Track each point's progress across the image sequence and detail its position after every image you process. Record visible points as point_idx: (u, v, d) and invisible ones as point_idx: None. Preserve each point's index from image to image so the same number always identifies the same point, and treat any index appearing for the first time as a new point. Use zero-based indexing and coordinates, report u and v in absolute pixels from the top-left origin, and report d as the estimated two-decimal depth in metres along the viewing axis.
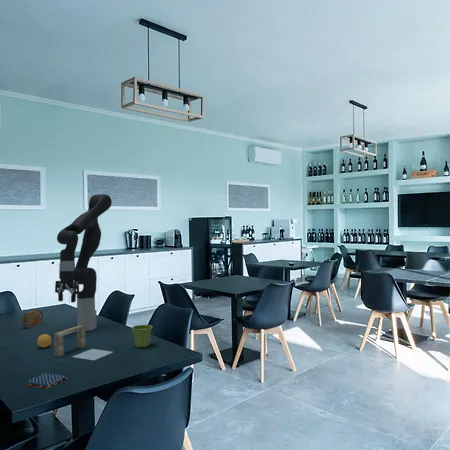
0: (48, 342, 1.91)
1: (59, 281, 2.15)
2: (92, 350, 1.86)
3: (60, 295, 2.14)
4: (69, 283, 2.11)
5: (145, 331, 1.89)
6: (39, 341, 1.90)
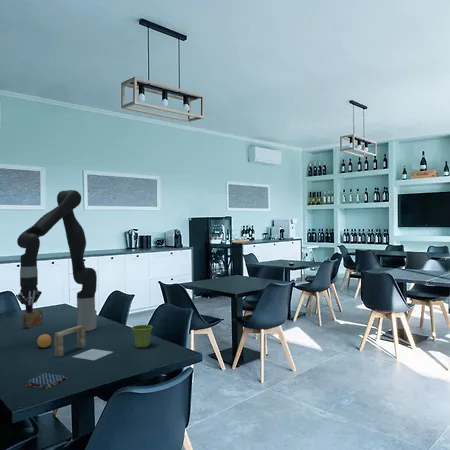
0: (48, 342, 1.91)
1: None
2: (92, 350, 1.86)
3: None
4: None
5: (145, 331, 1.89)
6: (39, 341, 1.90)
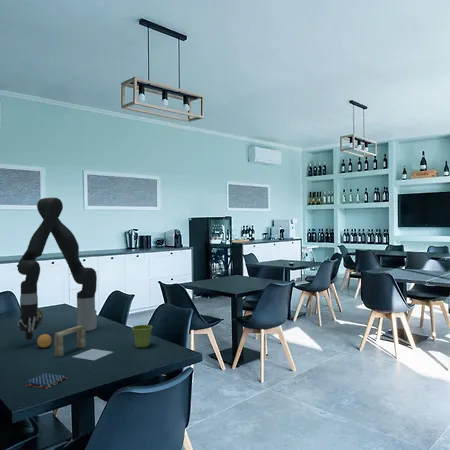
0: (48, 342, 1.91)
1: None
2: (92, 350, 1.86)
3: None
4: None
5: (145, 331, 1.89)
6: (39, 341, 1.90)
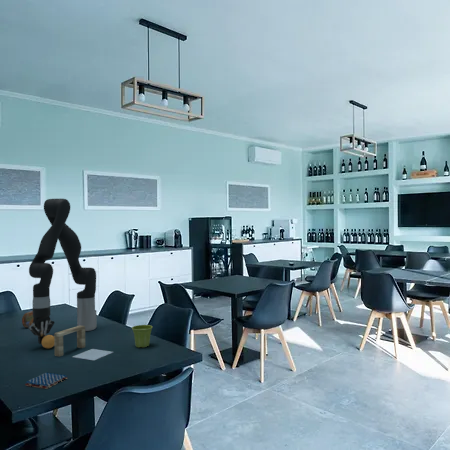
0: (51, 346, 1.90)
1: None
2: (92, 350, 1.86)
3: None
4: None
5: (145, 331, 1.89)
6: (44, 343, 1.88)
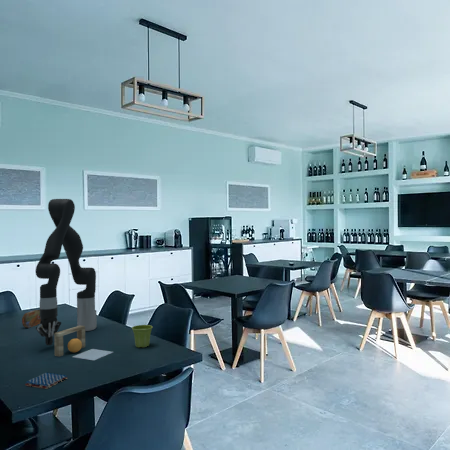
0: (78, 343, 1.83)
1: None
2: (92, 350, 1.86)
3: None
4: None
5: (145, 331, 1.89)
6: (69, 346, 1.81)
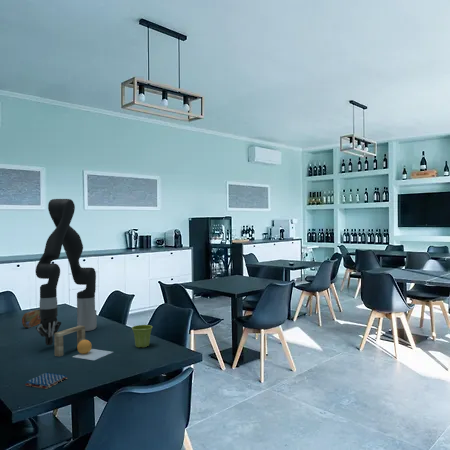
0: (85, 353, 1.81)
1: None
2: (92, 350, 1.86)
3: None
4: None
5: (145, 331, 1.89)
6: (80, 349, 1.79)
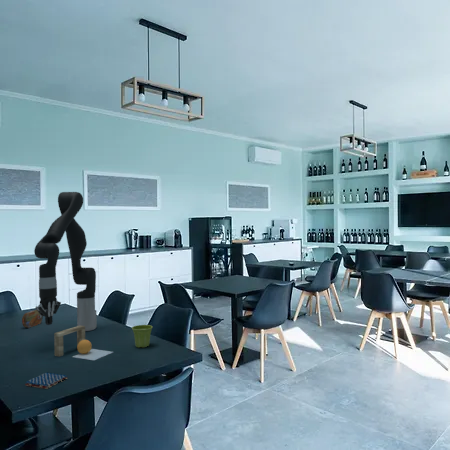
0: (85, 353, 1.81)
1: None
2: (92, 350, 1.86)
3: None
4: None
5: (145, 331, 1.89)
6: (80, 349, 1.79)
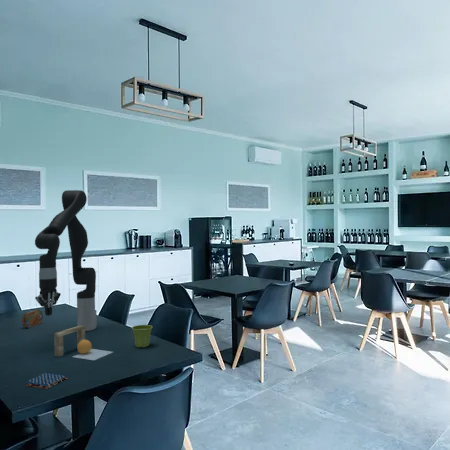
0: (85, 353, 1.81)
1: None
2: (92, 350, 1.86)
3: None
4: None
5: (145, 331, 1.89)
6: (80, 349, 1.79)
